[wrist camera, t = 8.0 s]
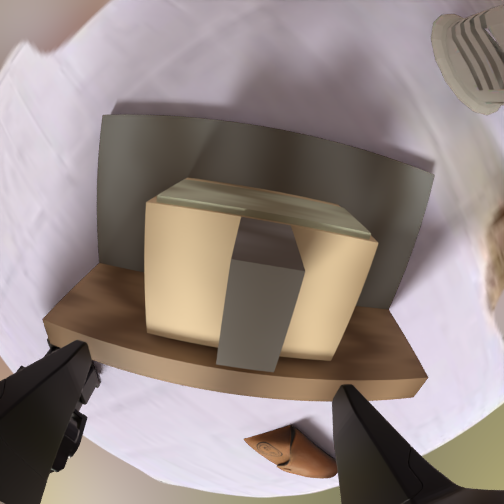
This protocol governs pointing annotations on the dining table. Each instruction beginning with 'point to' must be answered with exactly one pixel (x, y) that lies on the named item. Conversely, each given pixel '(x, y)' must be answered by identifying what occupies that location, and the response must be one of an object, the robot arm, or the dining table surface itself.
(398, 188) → the wall board
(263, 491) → the dining table surface
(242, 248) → the wooden block
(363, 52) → the dining table surface
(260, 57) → the dining table surface
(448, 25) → the french press
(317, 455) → the sunglasses case
